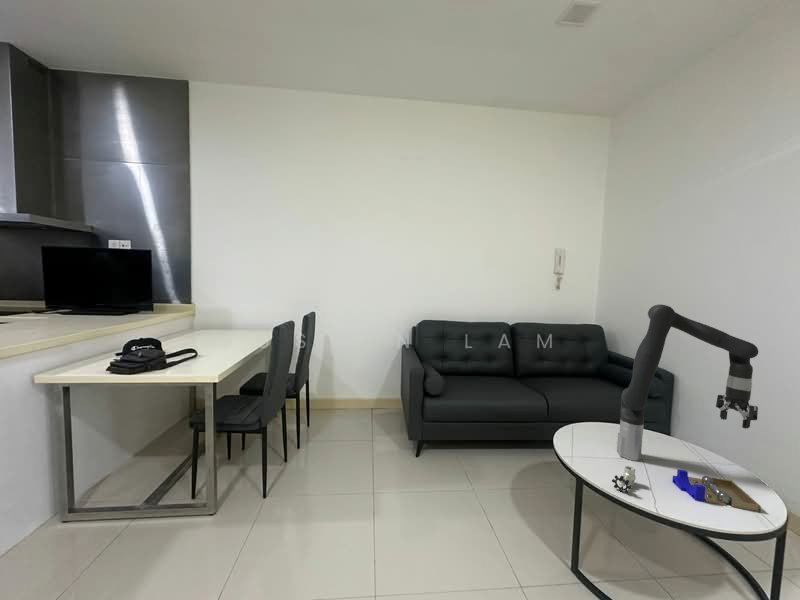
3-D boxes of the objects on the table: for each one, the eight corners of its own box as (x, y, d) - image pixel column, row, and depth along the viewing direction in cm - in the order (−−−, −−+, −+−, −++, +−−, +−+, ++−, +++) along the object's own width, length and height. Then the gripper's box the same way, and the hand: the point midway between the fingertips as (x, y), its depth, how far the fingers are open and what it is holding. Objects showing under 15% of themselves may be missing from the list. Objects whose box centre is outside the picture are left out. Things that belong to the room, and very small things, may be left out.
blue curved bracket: (672, 482, 141) (673, 468, 141) (684, 483, 140) (685, 470, 140) (690, 500, 130) (692, 485, 129) (704, 502, 129) (705, 487, 128)
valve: (621, 478, 143) (611, 488, 136) (622, 463, 143) (612, 472, 135) (639, 485, 138) (630, 496, 130) (641, 470, 138) (631, 480, 130)
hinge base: (705, 501, 129) (706, 493, 128) (684, 477, 145) (684, 470, 145) (760, 512, 123) (761, 503, 123) (731, 486, 140) (732, 478, 139)
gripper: (713, 381, 149) (709, 416, 150) (749, 392, 135) (745, 431, 136) (728, 381, 150) (724, 416, 151) (766, 392, 136) (761, 431, 137)
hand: (734, 423), depth 144 cm, fingers open, 8 cm apart
